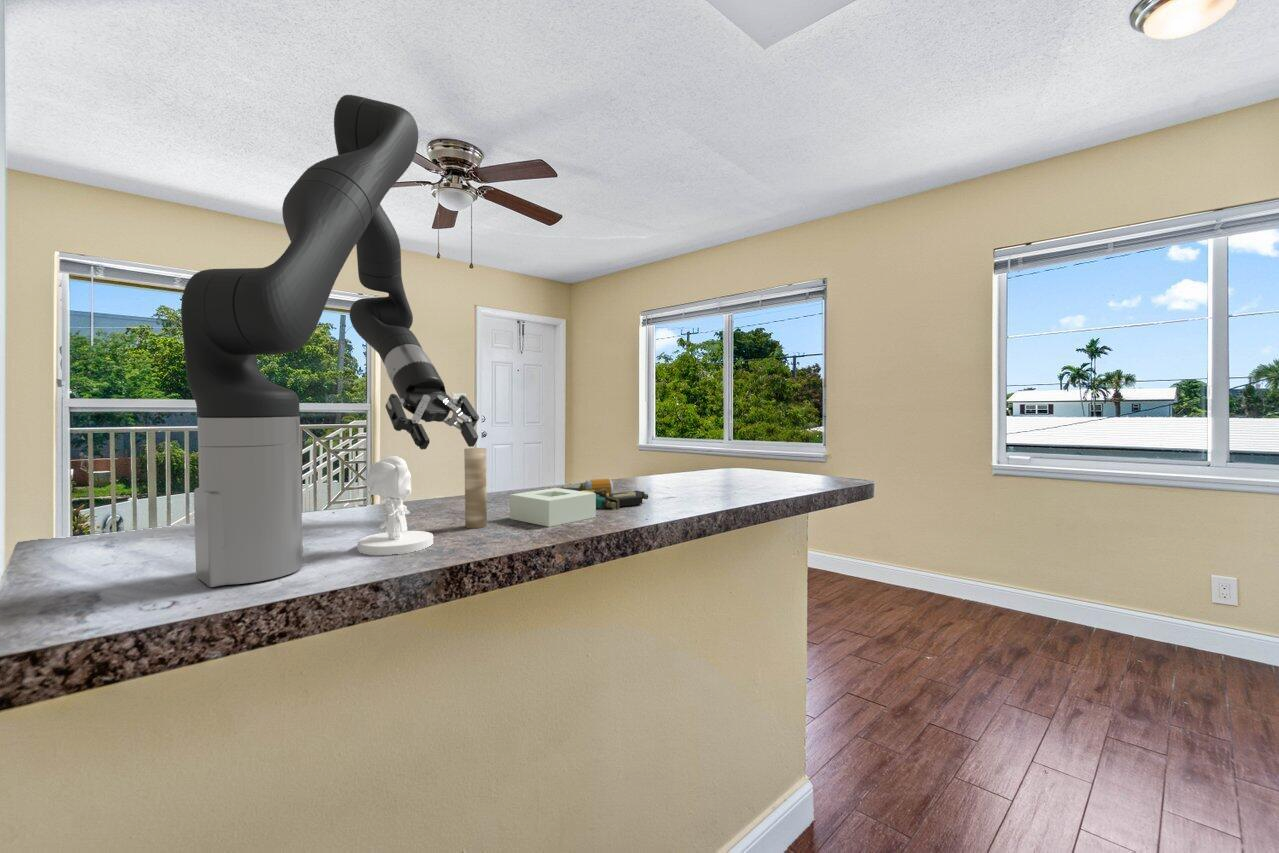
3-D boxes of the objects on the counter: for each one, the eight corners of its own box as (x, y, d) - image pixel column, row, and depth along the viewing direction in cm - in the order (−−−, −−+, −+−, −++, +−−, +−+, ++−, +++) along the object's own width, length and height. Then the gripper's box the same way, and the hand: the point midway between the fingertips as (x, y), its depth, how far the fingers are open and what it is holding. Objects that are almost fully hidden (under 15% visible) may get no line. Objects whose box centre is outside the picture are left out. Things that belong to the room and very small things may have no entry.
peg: (472, 529, 84) (471, 449, 84) (461, 526, 87) (460, 448, 86) (491, 526, 87) (490, 448, 86) (479, 523, 89) (478, 447, 89)
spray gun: (656, 509, 106) (588, 522, 97) (607, 493, 120) (543, 503, 111) (656, 487, 106) (588, 498, 97) (607, 474, 119) (543, 482, 110)
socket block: (549, 526, 86) (549, 500, 86) (509, 518, 93) (509, 494, 93) (595, 517, 94) (595, 493, 94) (556, 510, 100) (556, 487, 100)
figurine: (406, 557, 69) (404, 459, 68) (341, 553, 71) (339, 458, 70) (446, 540, 78) (445, 453, 77) (387, 537, 80) (386, 452, 79)
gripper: (379, 357, 91) (416, 430, 84) (458, 362, 101) (497, 427, 94) (365, 391, 94) (400, 463, 87) (443, 392, 105) (479, 457, 98)
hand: (450, 444), depth 91 cm, fingers open, 8 cm apart
